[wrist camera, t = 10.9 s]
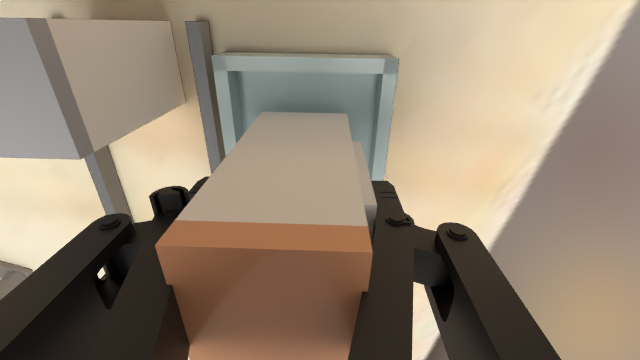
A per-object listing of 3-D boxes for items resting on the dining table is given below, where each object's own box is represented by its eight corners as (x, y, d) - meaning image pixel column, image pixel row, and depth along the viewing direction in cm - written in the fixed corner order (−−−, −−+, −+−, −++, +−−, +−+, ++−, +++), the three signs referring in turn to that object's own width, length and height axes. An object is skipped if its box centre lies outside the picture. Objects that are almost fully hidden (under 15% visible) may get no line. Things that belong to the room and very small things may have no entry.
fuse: (261, 111, 17) (154, 245, 7) (347, 113, 17) (372, 252, 7) (267, 186, 20) (193, 373, 9) (342, 188, 20) (356, 379, 9)
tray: (224, 51, 19) (211, 55, 17) (391, 54, 19) (399, 59, 17) (242, 194, 24) (233, 211, 22) (374, 198, 24) (378, 216, 22)
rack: (52, 19, 18) (-195, 14, 10) (208, 21, 18) (97, 19, 10) (144, 277, 29) (63, 388, 20) (245, 281, 28) (207, 394, 20)
